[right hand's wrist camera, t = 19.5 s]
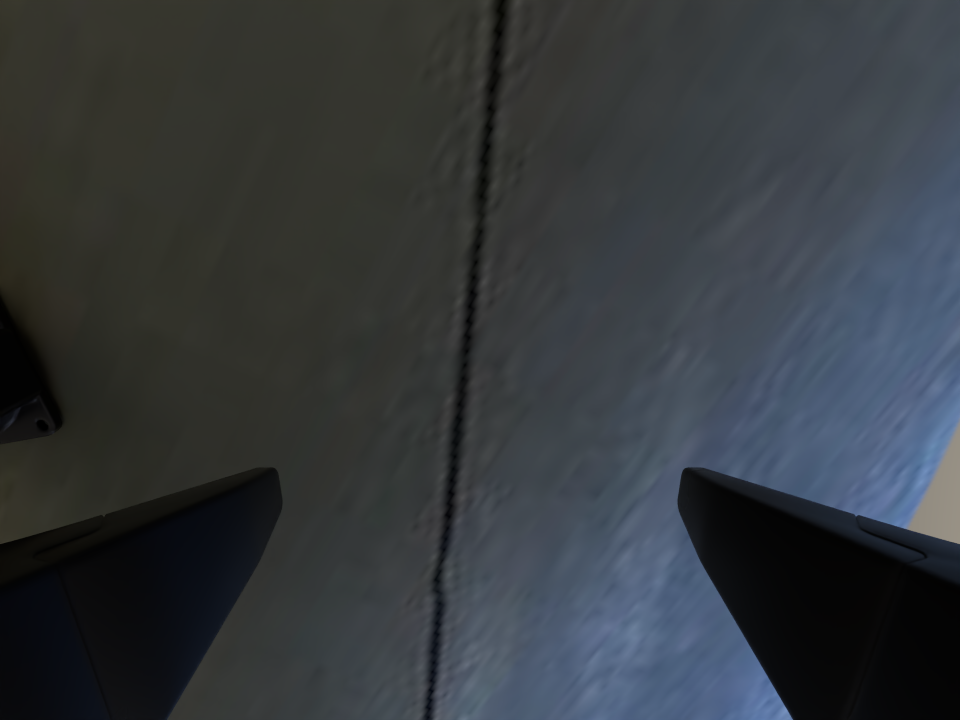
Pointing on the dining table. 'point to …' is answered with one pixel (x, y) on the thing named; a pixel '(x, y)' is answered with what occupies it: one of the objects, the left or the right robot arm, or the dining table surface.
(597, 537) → the dining table surface
